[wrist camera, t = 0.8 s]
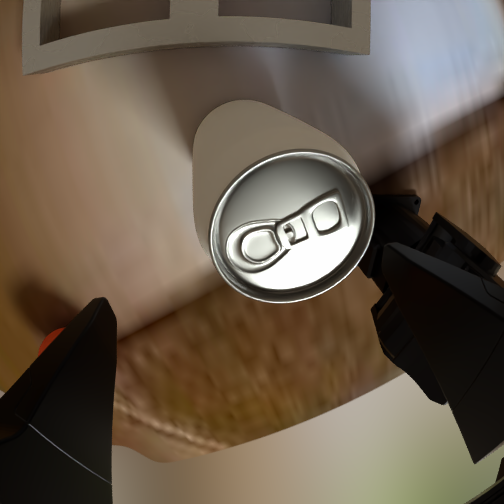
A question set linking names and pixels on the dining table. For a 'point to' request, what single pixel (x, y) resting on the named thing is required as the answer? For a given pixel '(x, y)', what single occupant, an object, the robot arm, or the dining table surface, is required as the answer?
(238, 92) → the dining table surface
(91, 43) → the grey compartment tray
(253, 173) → the can
